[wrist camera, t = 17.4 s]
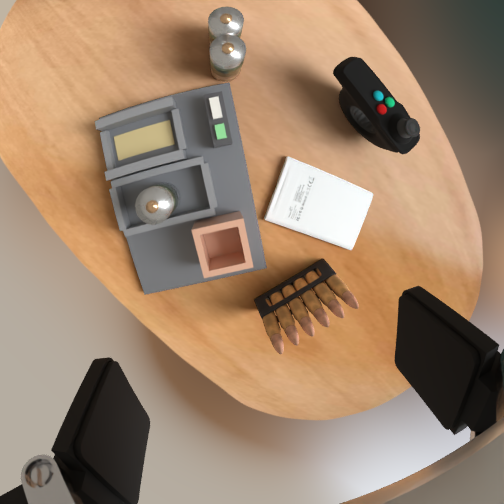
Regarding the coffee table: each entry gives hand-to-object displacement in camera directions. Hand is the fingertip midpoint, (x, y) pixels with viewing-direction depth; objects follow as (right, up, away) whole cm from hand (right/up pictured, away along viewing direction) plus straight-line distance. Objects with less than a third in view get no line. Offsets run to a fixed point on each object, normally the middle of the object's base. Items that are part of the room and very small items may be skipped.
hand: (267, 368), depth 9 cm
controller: (+12, +22, +25) cm, 35 cm away
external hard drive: (+8, +10, +29) cm, 31 cm away
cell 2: (-4, +29, +21) cm, 36 cm away
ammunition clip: (+5, -1, +31) cm, 31 cm away
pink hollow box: (-4, +5, +27) cm, 28 cm away
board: (-9, +11, +25) cm, 29 cm away
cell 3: (-4, +25, +22) cm, 34 cm away
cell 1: (-11, +10, +24) cm, 28 cm away
